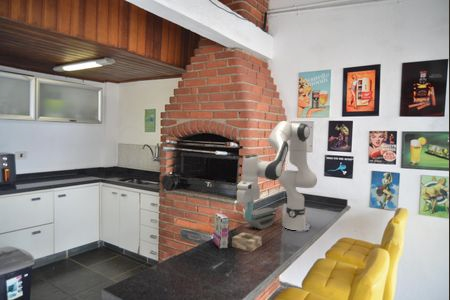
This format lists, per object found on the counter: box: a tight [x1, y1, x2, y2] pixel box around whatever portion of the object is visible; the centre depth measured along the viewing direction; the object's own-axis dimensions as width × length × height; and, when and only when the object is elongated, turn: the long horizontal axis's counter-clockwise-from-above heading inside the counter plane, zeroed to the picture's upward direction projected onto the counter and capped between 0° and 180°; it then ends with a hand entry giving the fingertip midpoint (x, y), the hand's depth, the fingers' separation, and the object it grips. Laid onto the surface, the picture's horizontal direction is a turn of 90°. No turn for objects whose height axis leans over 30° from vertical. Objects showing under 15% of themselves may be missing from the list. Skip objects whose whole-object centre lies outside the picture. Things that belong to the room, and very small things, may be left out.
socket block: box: [231, 232, 263, 253], centre depth 163 cm, size 12×12×5 cm
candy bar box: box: [212, 212, 230, 249], centre depth 163 cm, size 11×5×16 cm, turn 21°
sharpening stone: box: [246, 206, 278, 230], centre depth 201 cm, size 25×8×11 cm, turn 138°
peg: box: [244, 200, 253, 222], centre depth 162 cm, size 4×4×14 cm
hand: (248, 209), depth 162 cm, fingers closed on peg, 4 cm apart
